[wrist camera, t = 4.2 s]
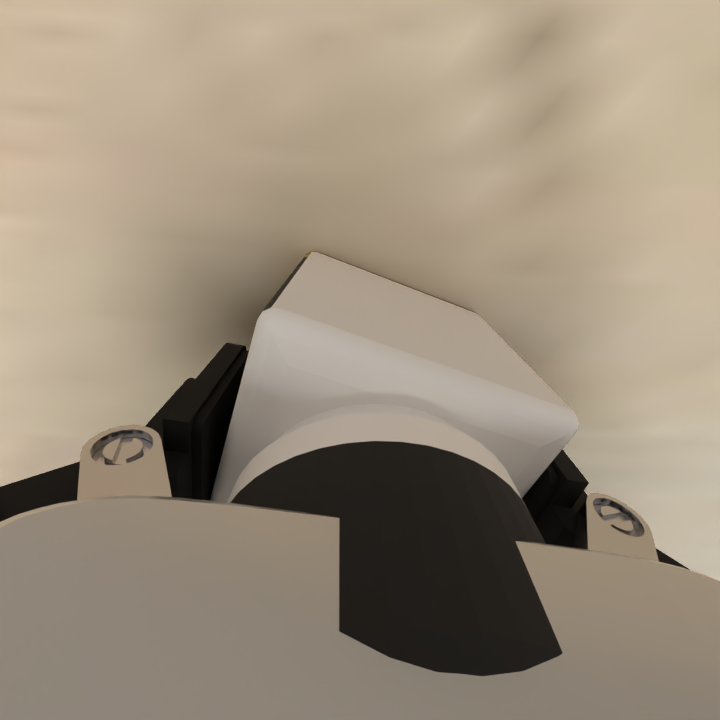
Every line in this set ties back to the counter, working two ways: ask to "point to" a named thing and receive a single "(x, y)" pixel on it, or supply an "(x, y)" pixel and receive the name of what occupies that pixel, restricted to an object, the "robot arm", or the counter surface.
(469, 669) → the medicine bottle
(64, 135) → the counter surface
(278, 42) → the counter surface
